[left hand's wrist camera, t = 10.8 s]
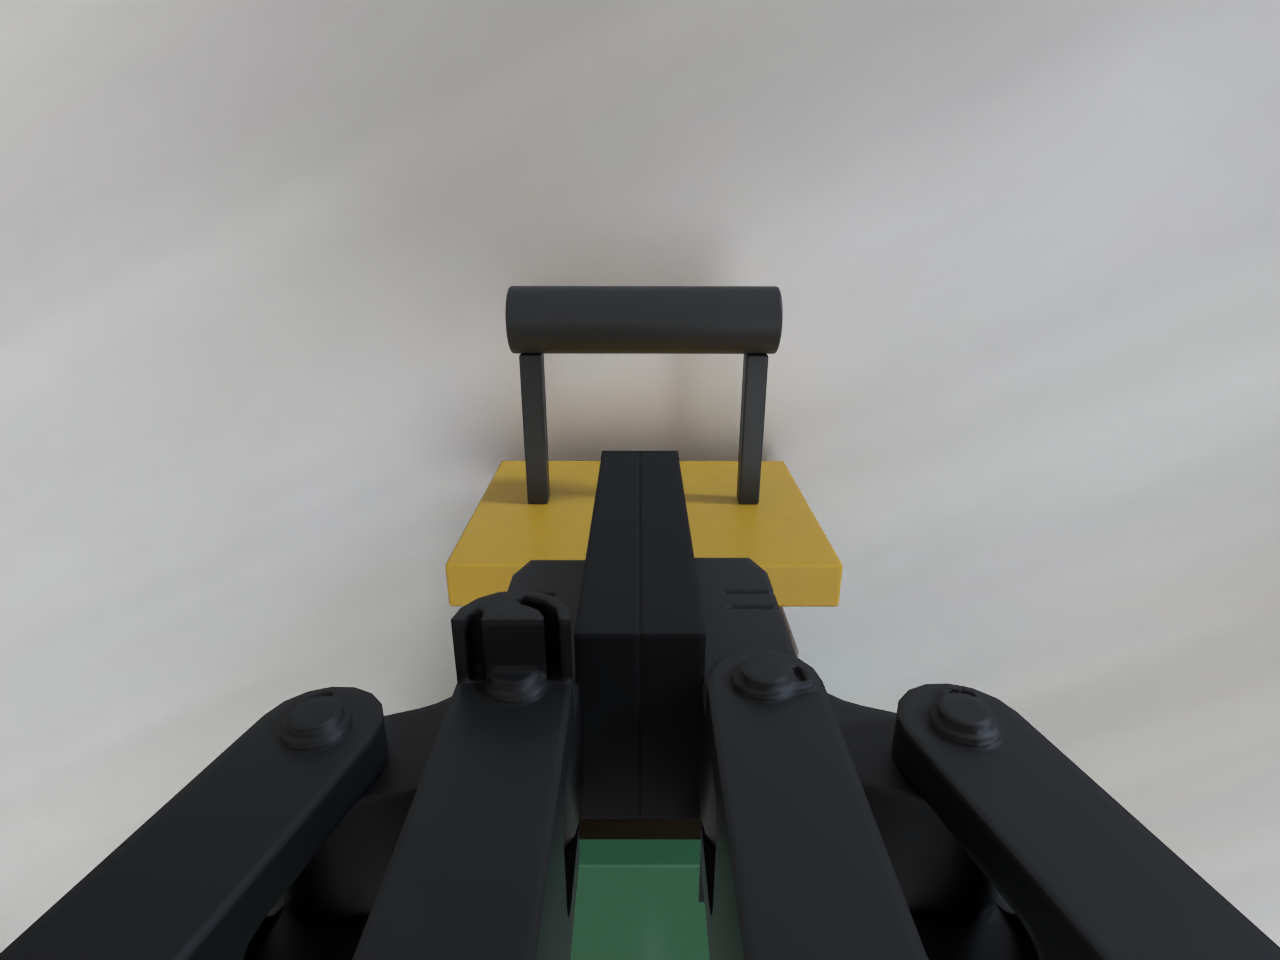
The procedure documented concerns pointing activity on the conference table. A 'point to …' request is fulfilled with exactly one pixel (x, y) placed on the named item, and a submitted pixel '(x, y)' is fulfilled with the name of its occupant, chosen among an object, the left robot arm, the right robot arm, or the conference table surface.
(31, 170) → the conference table surface
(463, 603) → the drawer
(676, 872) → the cabinet
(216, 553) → the conference table surface
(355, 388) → the conference table surface
